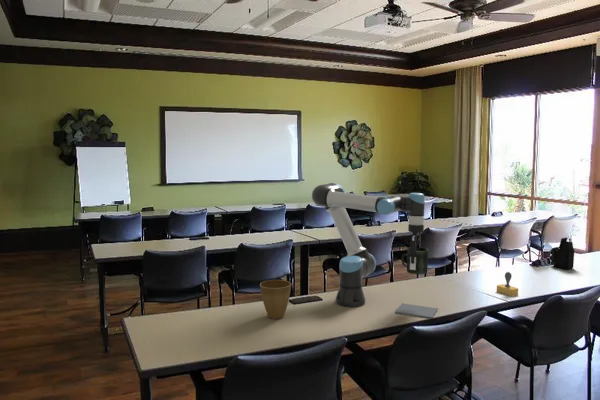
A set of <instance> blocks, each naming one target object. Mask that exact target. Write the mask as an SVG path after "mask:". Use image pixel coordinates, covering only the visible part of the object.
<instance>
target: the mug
mask: <svg viewBox="0 0 600 400" xmlns="http://www.w3.org/2000/svg"><path fill="white" fill-rule="evenodd" d="M406 251H407V252H406V253H403V254H402V255H401V258H400V260H401V265H402V266H403V267H405V268H406V272H407V273H408V274H412V275H425V274H427V273H428V270H429V269H428V264H429V263H428V262H429V252H430V249H429V248H427V247H423V246H421V247H420V248H416V270H410V257H409V255H410V246H408V247H407V248H406ZM405 257H406V263H405Z"/></svg>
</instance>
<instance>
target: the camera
mask: <svg viewBox="0 0 600 400" xmlns="http://www.w3.org/2000/svg"><path fill="white" fill-rule="evenodd" d="M549 254H550V256H549V261H550V265H552V266H553V267H555V268H559V269H564V270H565V271H567V270H571V269H574V262H575V248H574V244H573V241H568V237H562V238H561V239H560V242H559V246H556V247H552V248H551V249H550V250H549Z"/></svg>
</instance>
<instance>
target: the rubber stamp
mask: <svg viewBox="0 0 600 400" xmlns="http://www.w3.org/2000/svg"><path fill="white" fill-rule="evenodd" d="M504 278H505V282H506V283H502V284H497V285H496V292H497V293H500V294H503V293H504V294H503V295H506V294H507V295H506V296H509V295H510V296H509V297H513V296H512V295H515V296H518V295H519V288H518V287H515V286H512V285H510V282H511V279H512V273H511V272H510V271H507V272H505V273H504Z"/></svg>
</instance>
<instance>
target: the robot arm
mask: <svg viewBox="0 0 600 400" xmlns="http://www.w3.org/2000/svg"><path fill="white" fill-rule="evenodd" d="M408 195H409V196H403V195H402V196H401V195H387V196H386V197H379V196H372V195H366V194H358V193H349V192H345V190H344V187H342V186H341V185H340V184H338V183H333V182H329V183H326V184H318V185H317V186H316V187H315V188H313V190H312V193H311V199H312V202H313V203H314V204H315V205H317V206H318V207H322V208H323V207H324V208H325V211H326V212H328V213H329V214H330V215H331V218H332V220H333V222H334V224H335V227H336V230H337V231H338V233H339V236H340V239H341V240H342V242H343V244H344V247H345V249H346V252H347V255H346V256H344V257H343V256H342V258H341V259H340V260H339V267H338V268H339V284H338V285H339V287H338V290H337V293H336V297H335V303H336V304H337V305H339V306H342V307H349V308H350V307H351V308H353V307H354V308H355V307H356V308H358V307H362V306H363V305H365V304H366V297H365V294H364V290H363V279H364V278H366V277H368V276H370V275H371V274H372V273H373V272H374V271H375V270H376V266H377V261H376V258H375V256H373V255H372V254H371V253H369V251H368V249H367V248H366V247H364V246H363V245H362V242H361V240H360V238H359V236H358V233H357V231H356V229H355V227H354V225H353V222H352V220H351V218H350V216H349V214H348V211H347V209H352V210H360V211H367V212H373V213H374V212H375V213H378V214H380V215H384V216H385V215H387V216H389V215H390V214H393V213H396V212H408V221H407V222H408V229H407V230H408V232H410V233H412V234H411V236H410V246H409V247H410V255H409V257H410V270H416V248H420V247H422V245H421V244H422V243H421V235H422V233H424V231H425V229H424V228H425V225H424V222H425V220H426V218H425V204H426V201H425V200H426V199H425V194H424V193H421V192H411V193H409V194H408Z"/></svg>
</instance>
